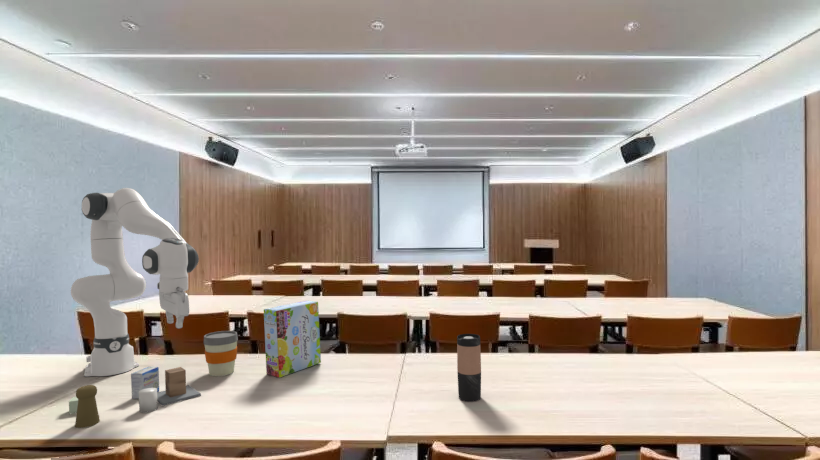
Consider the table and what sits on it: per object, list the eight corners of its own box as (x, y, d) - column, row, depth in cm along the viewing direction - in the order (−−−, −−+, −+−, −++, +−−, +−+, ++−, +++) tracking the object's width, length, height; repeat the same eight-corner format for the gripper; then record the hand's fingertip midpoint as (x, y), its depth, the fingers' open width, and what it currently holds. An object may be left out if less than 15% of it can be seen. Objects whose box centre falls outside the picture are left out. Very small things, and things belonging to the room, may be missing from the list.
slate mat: (151, 396, 159) (151, 393, 159) (188, 387, 168) (188, 384, 167) (162, 405, 151) (162, 403, 151) (200, 395, 159) (200, 393, 159)
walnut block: (165, 393, 159) (165, 370, 159) (181, 389, 163) (180, 366, 162) (170, 397, 156) (169, 373, 155) (186, 393, 159) (185, 369, 159)
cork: (82, 419, 141) (81, 383, 141) (104, 418, 141) (103, 382, 141) (70, 428, 135) (68, 390, 134) (92, 427, 135) (91, 389, 135)
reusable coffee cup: (205, 379, 175) (204, 339, 175) (203, 370, 186) (202, 333, 186) (240, 374, 181) (239, 335, 181) (236, 365, 192) (235, 329, 192)
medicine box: (142, 399, 156) (142, 373, 156) (131, 398, 157) (130, 373, 157) (159, 391, 164) (159, 366, 164) (148, 390, 165) (148, 366, 165)
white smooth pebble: (137, 409, 148) (136, 390, 148) (154, 405, 151) (154, 386, 151) (141, 413, 144) (141, 394, 144) (159, 409, 148) (159, 390, 148)
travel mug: (483, 394, 155) (482, 334, 154) (479, 403, 147) (478, 339, 147) (460, 392, 157) (459, 332, 157) (455, 400, 150) (454, 338, 150)
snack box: (307, 360, 198) (305, 299, 197) (321, 363, 193) (320, 301, 192) (264, 374, 180) (262, 307, 180) (278, 378, 175) (277, 309, 175)
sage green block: (72, 409, 149) (72, 397, 149) (94, 406, 151) (94, 394, 151) (69, 414, 145) (68, 401, 145) (92, 411, 148) (91, 398, 148)
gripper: (194, 288, 156) (194, 329, 157) (174, 281, 171) (175, 319, 172) (173, 290, 152) (174, 332, 152) (155, 283, 167) (156, 321, 167)
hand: (174, 325), depth 162 cm, fingers open, 8 cm apart
